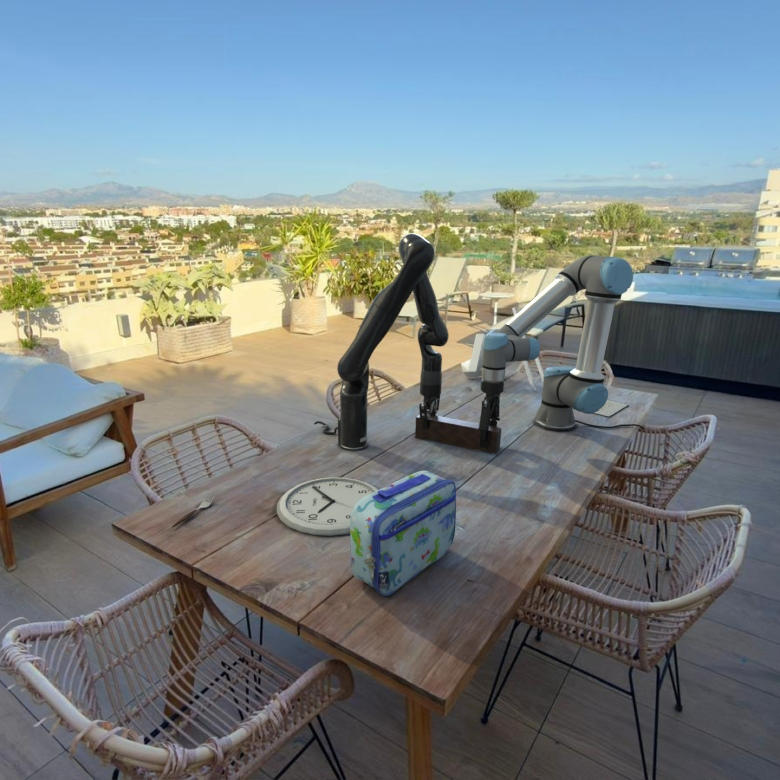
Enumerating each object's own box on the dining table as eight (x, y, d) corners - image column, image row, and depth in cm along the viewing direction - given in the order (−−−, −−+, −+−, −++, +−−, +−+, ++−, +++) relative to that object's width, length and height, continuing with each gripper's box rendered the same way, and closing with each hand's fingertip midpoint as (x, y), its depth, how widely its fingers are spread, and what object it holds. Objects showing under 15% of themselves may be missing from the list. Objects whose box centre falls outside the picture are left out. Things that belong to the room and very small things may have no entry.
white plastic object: (482, 419, 265) (461, 396, 241) (463, 346, 287) (443, 319, 263) (553, 395, 253) (539, 368, 228) (528, 321, 275) (513, 290, 250)
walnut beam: (499, 449, 181) (501, 427, 179) (495, 454, 177) (497, 432, 175) (420, 433, 194) (421, 412, 192) (415, 437, 190) (415, 416, 188)
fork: (167, 528, 130) (166, 521, 130) (209, 498, 145) (208, 492, 144) (175, 530, 130) (174, 523, 129) (216, 500, 144) (216, 494, 143)
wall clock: (392, 527, 129) (268, 531, 127) (391, 533, 130) (269, 537, 127) (383, 473, 158) (282, 475, 155) (383, 478, 158) (282, 480, 156)
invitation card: (608, 416, 214) (573, 407, 224) (608, 416, 214) (573, 408, 224) (628, 404, 229) (594, 396, 238) (628, 405, 229) (594, 397, 238)
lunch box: (378, 608, 104) (379, 516, 98) (343, 583, 112) (342, 495, 105) (459, 554, 122) (465, 473, 116) (425, 535, 129) (428, 458, 123)
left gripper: (429, 375, 192) (427, 418, 197) (412, 384, 179) (411, 430, 184) (448, 377, 188) (445, 421, 194) (433, 388, 176) (430, 434, 181)
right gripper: (491, 371, 184) (486, 430, 191) (471, 386, 166) (467, 451, 173) (512, 374, 181) (506, 434, 188) (494, 390, 163) (489, 456, 169)
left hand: (428, 425), depth 189 cm, fingers open, 5 cm apart
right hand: (487, 442), depth 180 cm, fingers open, 9 cm apart
